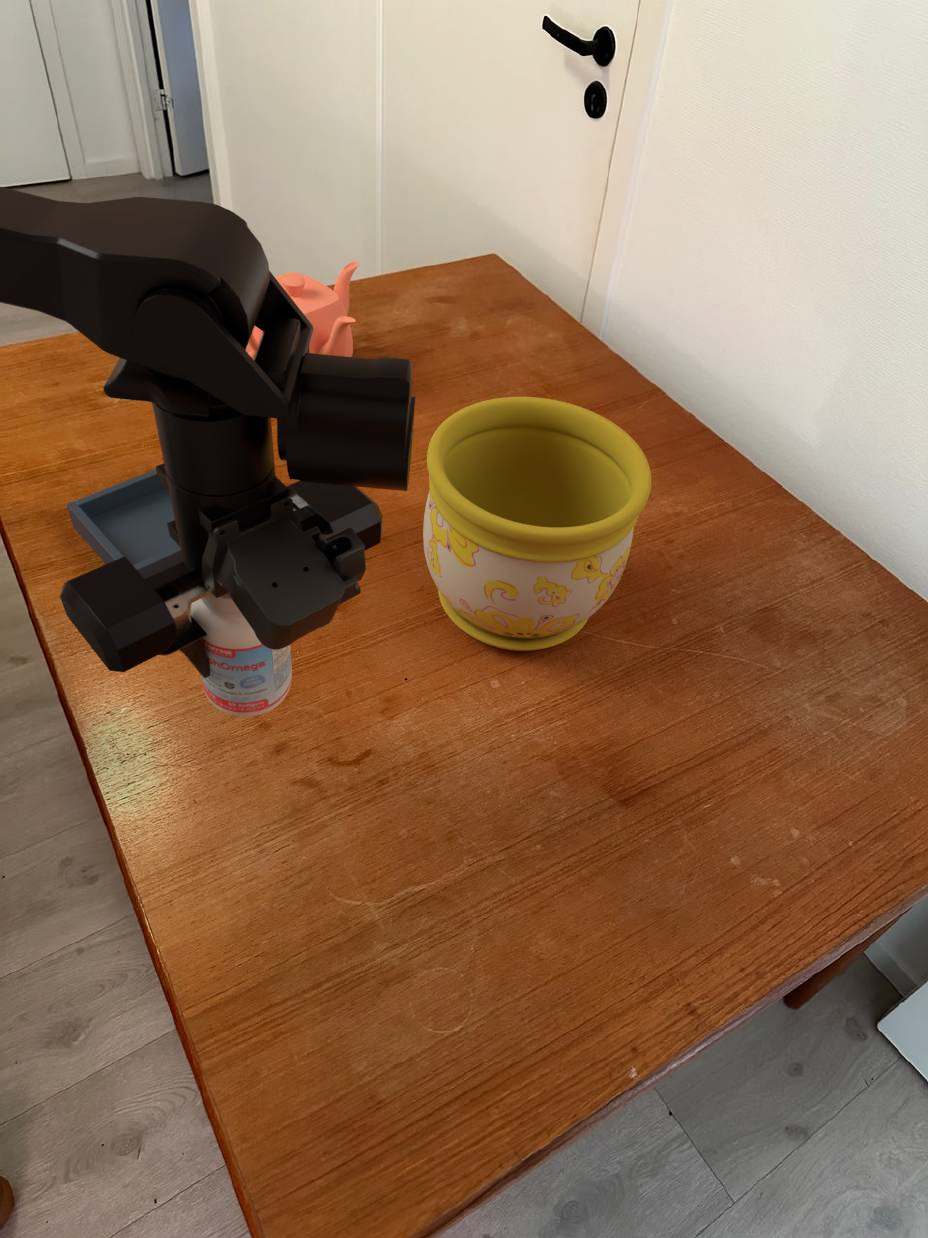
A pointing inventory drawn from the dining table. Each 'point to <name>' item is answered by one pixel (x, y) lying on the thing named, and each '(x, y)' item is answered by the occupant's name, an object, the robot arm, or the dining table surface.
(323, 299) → the teapot
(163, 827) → the dining table surface
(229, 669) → the pill bottle
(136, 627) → the robot arm
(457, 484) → the flowerpot
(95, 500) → the tray
